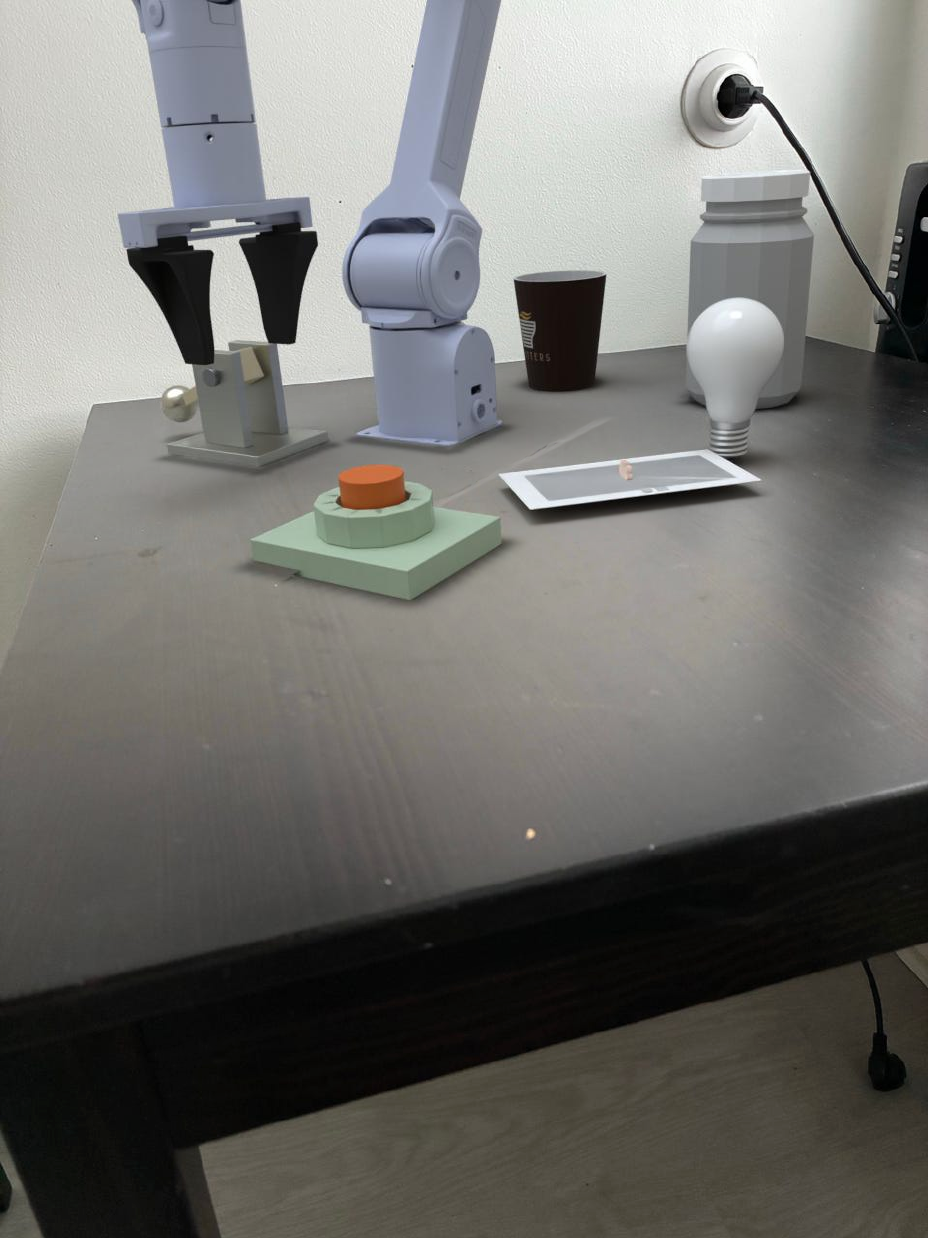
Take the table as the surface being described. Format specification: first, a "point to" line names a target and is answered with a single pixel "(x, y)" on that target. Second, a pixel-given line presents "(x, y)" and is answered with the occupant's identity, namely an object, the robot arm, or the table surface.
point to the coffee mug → (560, 327)
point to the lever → (184, 401)
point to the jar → (756, 262)
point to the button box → (380, 543)
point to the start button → (372, 487)
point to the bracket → (244, 412)
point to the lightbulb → (733, 366)
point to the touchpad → (624, 478)
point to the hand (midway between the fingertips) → (242, 353)
